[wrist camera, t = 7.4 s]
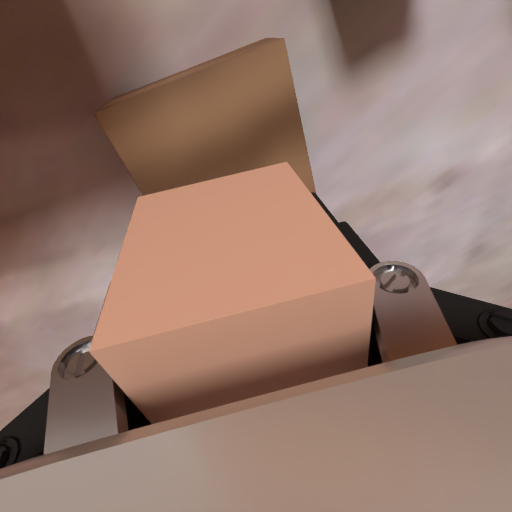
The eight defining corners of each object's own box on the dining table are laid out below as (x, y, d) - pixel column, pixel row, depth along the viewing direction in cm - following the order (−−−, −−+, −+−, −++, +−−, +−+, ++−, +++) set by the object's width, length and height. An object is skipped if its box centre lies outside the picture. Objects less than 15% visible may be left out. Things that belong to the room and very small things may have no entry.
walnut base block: (299, 183, 24) (319, 211, 20) (184, 225, 25) (182, 261, 21) (264, 37, 18) (284, 38, 14) (114, 97, 19) (93, 113, 15)
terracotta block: (299, 273, 13) (362, 411, 8) (185, 302, 13) (183, 460, 8) (286, 161, 10) (376, 278, 5) (137, 196, 10) (88, 351, 5)
